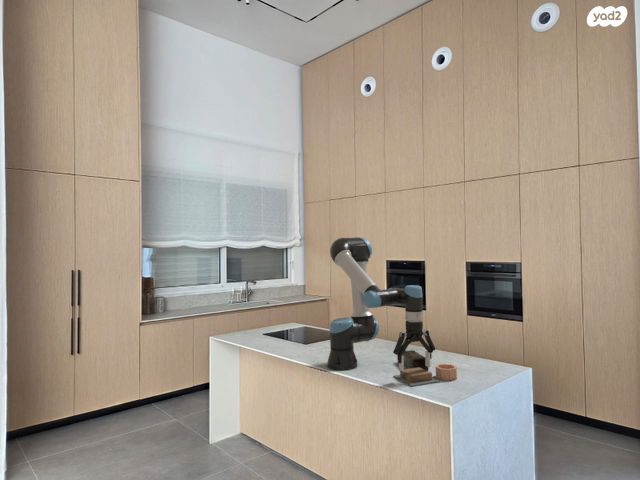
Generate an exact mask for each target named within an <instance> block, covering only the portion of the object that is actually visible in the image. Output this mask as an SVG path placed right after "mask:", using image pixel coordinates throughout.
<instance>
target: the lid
mask: <svg viewBox="0 0 640 480" xmlns="http://www.w3.org/2000/svg"><path fill="white" fill-rule="evenodd" d="M399 375H400V377H402V378H404V379H406V380H408V381H409V382H411V383H416V382H422V381H429V380H432V378H433V373H432V372H430V371H429V370H428V371H426V370H424V369H422V368H420V367H417V368H410V369H409V368H404V371H401V370H399Z"/></svg>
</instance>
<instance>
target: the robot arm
mask: <svg viewBox="0 0 640 480" xmlns="http://www.w3.org/2000/svg"><path fill="white" fill-rule="evenodd" d="M329 254H330V257H331V260H332V262H334V264H335V265H336V266H339V267H340V268H341V269H342V270H343V272H344V273H345V274H346V276H347V277H348V278H349V280H350V285H351V297H352V300H351V301H352V311H353V313H352V314H351V315H350V317H339V318H335V319H333V320H331V322H330V323H329V343H330V344H329V345H330V351H329V354H328V358H327V362H326V364H327V365H326V366H327V368H329V369H331V370H336V371H337V370H338V371H346V370H348V371H349V370H353V369H355V368H357V367H358V366H359V365H358V359H357V356H356V354H355V351H354V350H355V349H354V348H355V347H354V344H356V343H357V344H358V343H362V342H369V341H372V340H375V339H376V337H378V335H379V331H380V324H379V322H378V320H377V318H375V317H374V313H372V312H371V310H370V309H377V308H383V307H391V306H403V307H405V310H404V311H405V314H404V316H405V319H404V320H406V321H405V332H403V331H400V332H399V333H398V335H399V336H398V339H397V342H396V345H395V347H394V349H393V352H392V354H394V355H396V357H397V363H398V369H399V371H400V370H401V371H404V369H405V365H404V356H403V355H402V354H403V353H404V351H405V350H406V351H407V348H408V347H409V345H410V344H412V343H415V342H416V343H417V342H420V344H421V346H423V348H424V349H425V351H424V353H425V355H424V357H425V366H427V367H428V368H431V360H432V353H434V351H436V347H435V344H434V343H433V340H432V338H431V336H430V331H429V330H427V329H424V330H423V328H424V324H423V323H424V322H423V289H422V286H420V285H412V284H411V285H406V286H405V287H404V288H399V287H390V288H388V289H380V288H379V286H378V285H377V284H376V283H375V282H374V281H373V279H372V278H371V277H370V276H369V275H368V274H367V265H368V264H369V259H370V258H371V256H372V254H373V247H372V244H371V242H370V241H369V240H368V239H367V238H364V237H340V238H337V239H336V240H334V242H332V244H331V246H330V250H329ZM423 336H424V338H425V339H424V338H423ZM425 340H426V341H425Z"/></svg>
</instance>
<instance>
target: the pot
mask: <svg viewBox="0 0 640 480" xmlns="http://www.w3.org/2000/svg"><path fill="white" fill-rule="evenodd" d="M435 377H436V378H437V380H441V381H455V380H457V379H458V366H456V365H454V364H451V363H439V364H436V365H435Z"/></svg>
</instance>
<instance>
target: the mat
mask: <svg viewBox="0 0 640 480" xmlns="http://www.w3.org/2000/svg"><path fill="white" fill-rule="evenodd" d="M393 378H394V379H397V380H398V381H400V382H402V383H404V384H405V385H407V386H410V387H411V388H412V387H417V386H418V387H419V386H425V385H432V384H438V383H440V380H439V379H436V378H434V377H432V380H429V381H422V382H416V383H411V382H409V381H408V380H406V379H404V378H402V377H400V374H396V375H393Z"/></svg>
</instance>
